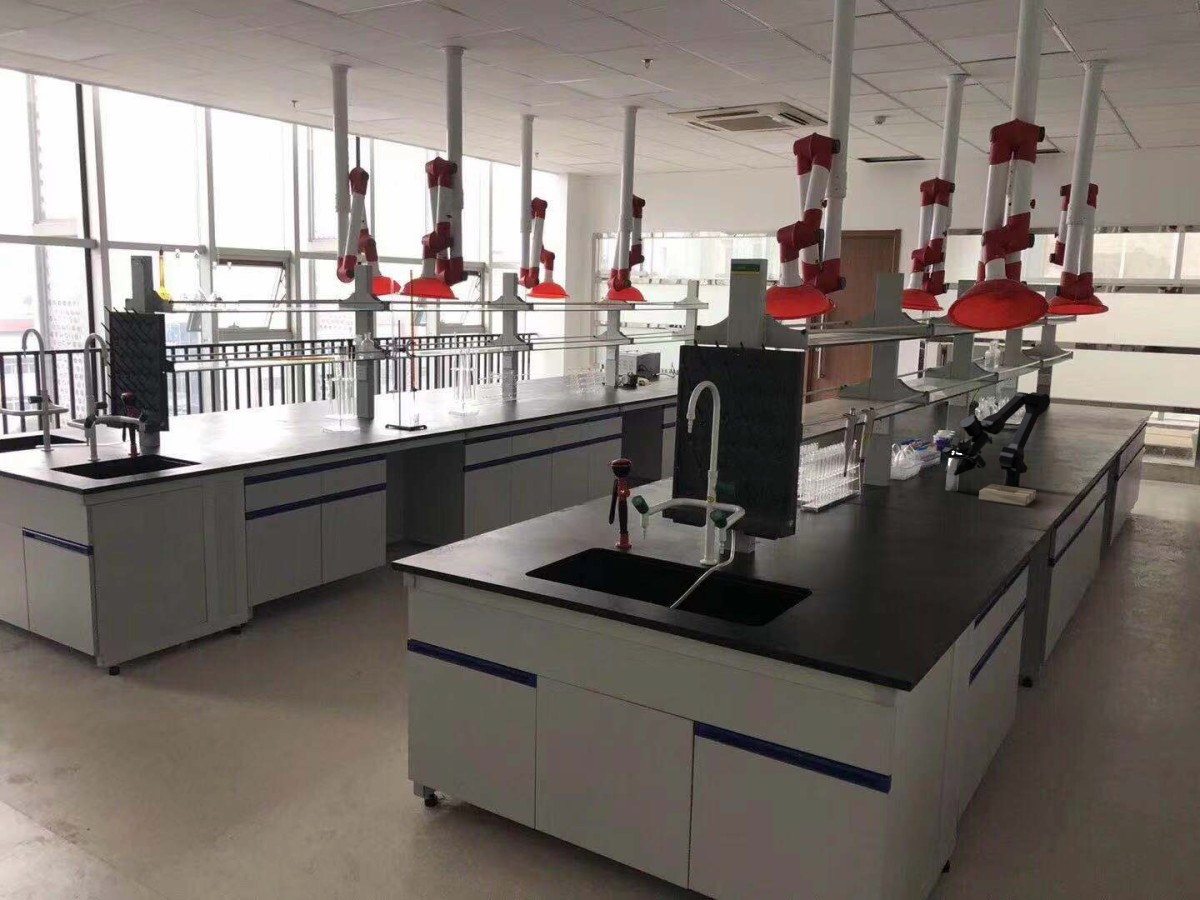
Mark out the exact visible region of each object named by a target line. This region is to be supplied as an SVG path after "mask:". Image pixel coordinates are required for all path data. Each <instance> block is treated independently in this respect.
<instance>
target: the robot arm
mask: <svg viewBox="0 0 1200 900" xmlns="http://www.w3.org/2000/svg"><path fill="white" fill-rule="evenodd" d="M1050 398H1051V397H1050V396H1049V395H1048V394H1047V393H1042V392H1035V391H1032V392H1029V393H1028V392H1025V391H1019V392H1016V393H1015V395H1014V396H1012V398H1011V399H1010V400H1009V401H1008V402H1006V403H1005V404H1004V405H1002V407H1000V409H999V410H997V411H996V412H995V413H992V414H990V415H987V416H986V417H984V418H982V419H981V421H980V419H978V418H979V417H978V416H977V415H976V414H970V416H966V417H965V418H963V419H962V420H961V421H960V423H959V425H960V427H961V429H962V430H963V431H964V432H965V434H966V435H967V437H970V438H965V439H962V438H959V437H953V438H952V440H951V442H950V446H953V447H954V448H956V449H954V448H952V447H948V446H947V447H946V446H945V447H944V448H943V449H942V450H941V453H942V454H944V456H945V457H946V459H947V460H948V458H950V457H953V458H960V461H961V462H960V465H959V467H958V468H957V469H956V471H955V472H954V475H955V476H956V475H959V476H960V474H963V473H966V472H969V471H971V470H975V469H976V468H977V469H980V470H984V469H985V467H986V464H987V463H986V461H985V459H984V458H983V457H982V455H981V454H982V449H983V448H984V447H985V446H986V445H987V444H990V445H993V437H992V436H989V434H990V435H994V436H995V435H999V434H1000V433H1001V432H1002V430H1003V429H1004V428H1005V426H1006V422H1007V421H1008V420H1009V419H1010V418H1012V417H1013V416H1014V415H1015V414H1016V413H1017V412H1018V411H1019V410H1020V409H1021V408H1022V407H1023V406H1024V409H1025V411H1024V415H1023V416H1022V418H1021V421H1020V424H1019V425H1018V428H1017V431H1016V432H1015V434H1014V436H1013V439H1012V441H1011V443H1010V444H1009V445H1008V446H1006V445H1005V446H1003V447H1002V448H1001V452H1000V453H999V458H998V461H999V465H1000V469H1001V470H1003V471H1005V474H1004V482H1003V483H1002V484H1001V485H1002V486H1009V487H1016V488H1022V487H1023V484H1021V479H1022V478H1021V477H1022V474H1026V473H1027V471H1028V466H1027V464H1026V463H1025V462H1024V459H1025V451H1024V449H1025V446H1026V444H1027V443H1028V439H1029V438H1030V435H1031V433H1032V431H1033V429H1034V426H1035V425H1036V423H1037V420H1038V418H1039V416H1040V415H1042V414H1043V413H1044V412H1046V411H1047V409H1048V407H1049V406H1050V404H1051V399H1050ZM947 466H948V463H947V464H946V467H945V470H944V472H945V474H947Z"/></svg>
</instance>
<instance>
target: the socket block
mask: <svg viewBox="0 0 1200 900" xmlns="http://www.w3.org/2000/svg"><path fill="white" fill-rule="evenodd" d="M1036 490H1037V489H1029V488H1023V487H1020V488H1016V487H1009V486H1002V484H1001V485H999V484H995V483H991V484H989V485H987V486H985V487H983V488H981V489H980V490H979V493H978V500H979V501H984V502H989V503H998V504H1004V505H1011V506H1017V507H1024V508H1025V507H1027V506H1028V505H1029V504H1031V503H1032V502H1033V501H1035V500H1036V493H1037V491H1036Z"/></svg>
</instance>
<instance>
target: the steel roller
mask: <svg viewBox="0 0 1200 900" xmlns="http://www.w3.org/2000/svg"><path fill="white" fill-rule="evenodd" d="M947 464H948V466H947V465H946V467H947V473H946V479H945V491H947V492H958V490H959V480H960V479H959V477H960V474H959V475H956V476H955V475H954V472H955V471H956V469H957V468H958V467H959V465H960V464H961V459H960V458H953V457H950V458H948V459H947Z"/></svg>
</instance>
